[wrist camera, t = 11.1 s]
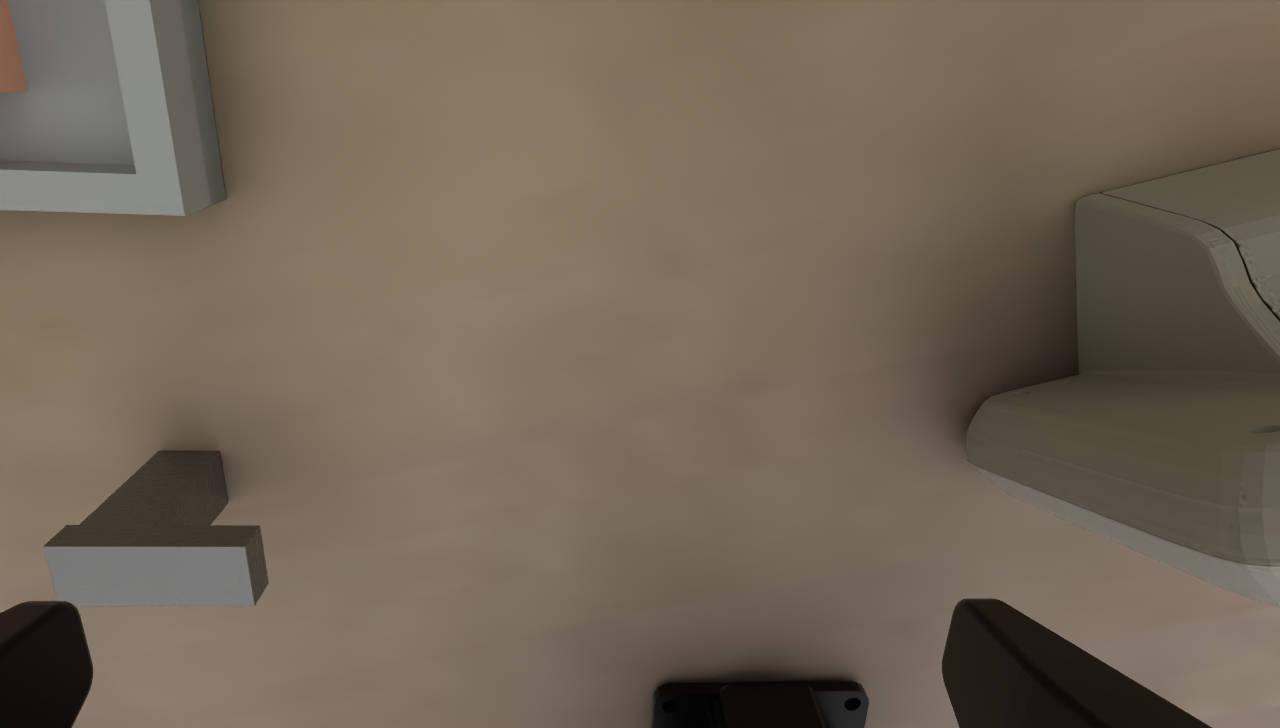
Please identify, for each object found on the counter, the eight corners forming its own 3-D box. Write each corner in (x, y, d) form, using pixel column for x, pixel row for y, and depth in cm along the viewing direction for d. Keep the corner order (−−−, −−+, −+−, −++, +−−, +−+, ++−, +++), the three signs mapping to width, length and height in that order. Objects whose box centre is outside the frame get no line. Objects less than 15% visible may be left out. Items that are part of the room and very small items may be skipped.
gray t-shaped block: (316, 503, 21) (254, 606, 17) (158, 502, 21) (59, 606, 17) (310, 452, 20) (245, 546, 17) (148, 451, 20) (43, 546, 16)
